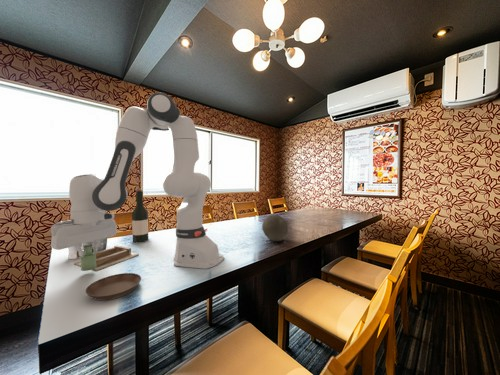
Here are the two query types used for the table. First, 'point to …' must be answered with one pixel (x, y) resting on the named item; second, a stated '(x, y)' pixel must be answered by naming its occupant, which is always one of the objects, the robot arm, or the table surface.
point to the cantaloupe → (275, 228)
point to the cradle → (111, 257)
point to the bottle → (88, 259)
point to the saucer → (113, 286)
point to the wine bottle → (140, 220)
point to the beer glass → (74, 252)
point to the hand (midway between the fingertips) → (88, 253)
